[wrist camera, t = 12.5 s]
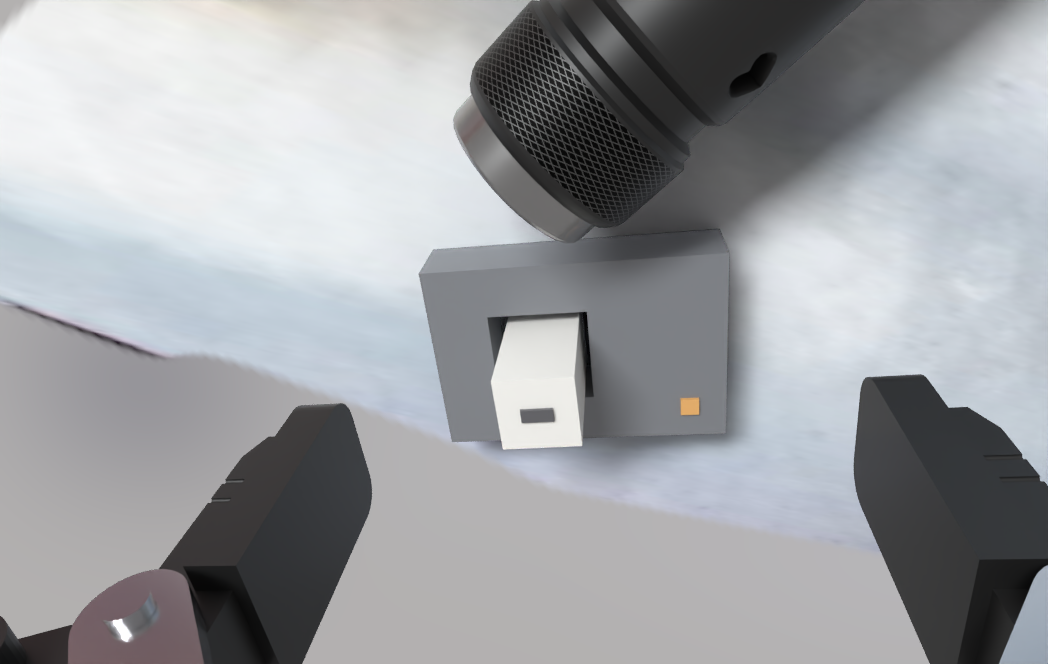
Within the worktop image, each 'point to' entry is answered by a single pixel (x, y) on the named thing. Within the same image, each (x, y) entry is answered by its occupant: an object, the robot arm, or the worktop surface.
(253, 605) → the robot arm
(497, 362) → the block
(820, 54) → the worktop surface
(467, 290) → the outlet block
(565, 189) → the muzzle brake
